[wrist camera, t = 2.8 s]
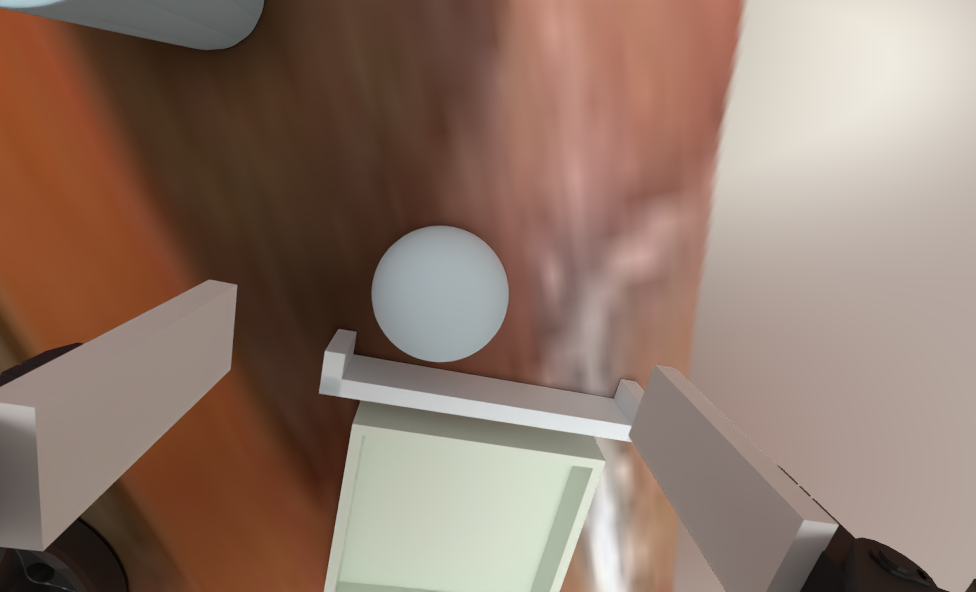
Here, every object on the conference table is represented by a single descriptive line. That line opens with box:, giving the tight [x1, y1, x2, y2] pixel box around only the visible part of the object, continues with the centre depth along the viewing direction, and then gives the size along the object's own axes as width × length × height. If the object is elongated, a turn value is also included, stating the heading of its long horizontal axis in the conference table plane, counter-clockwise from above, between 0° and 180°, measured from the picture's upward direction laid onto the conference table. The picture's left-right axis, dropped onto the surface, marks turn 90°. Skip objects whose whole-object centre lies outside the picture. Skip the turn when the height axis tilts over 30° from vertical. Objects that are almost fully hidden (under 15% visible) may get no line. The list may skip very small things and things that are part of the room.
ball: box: [371, 226, 509, 362], centre depth 22 cm, size 6×6×6 cm
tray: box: [324, 400, 606, 592], centre depth 28 cm, size 14×14×3 cm
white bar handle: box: [319, 329, 644, 442], centre depth 25 cm, size 18×2×3 cm, turn 77°
